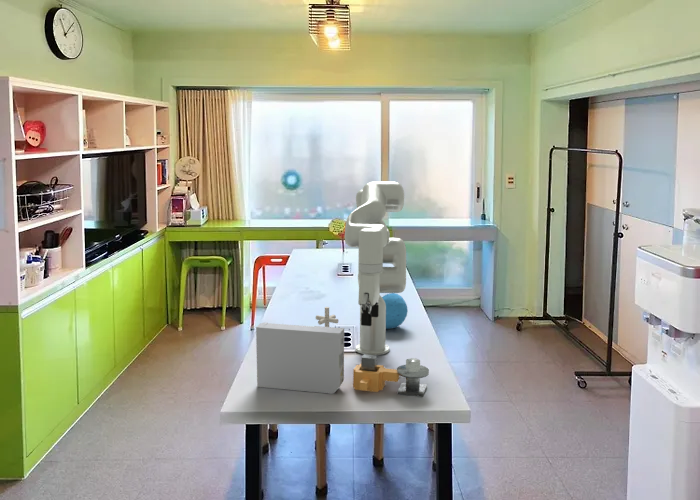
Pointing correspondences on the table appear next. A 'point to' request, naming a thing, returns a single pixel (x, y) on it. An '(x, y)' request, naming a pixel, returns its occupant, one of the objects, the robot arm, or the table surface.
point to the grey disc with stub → (412, 378)
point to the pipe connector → (326, 318)
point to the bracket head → (373, 378)
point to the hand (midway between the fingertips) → (369, 321)
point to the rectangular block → (369, 363)
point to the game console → (300, 357)
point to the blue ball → (394, 310)
